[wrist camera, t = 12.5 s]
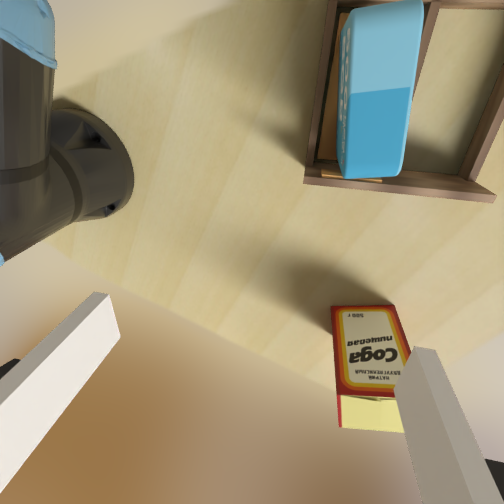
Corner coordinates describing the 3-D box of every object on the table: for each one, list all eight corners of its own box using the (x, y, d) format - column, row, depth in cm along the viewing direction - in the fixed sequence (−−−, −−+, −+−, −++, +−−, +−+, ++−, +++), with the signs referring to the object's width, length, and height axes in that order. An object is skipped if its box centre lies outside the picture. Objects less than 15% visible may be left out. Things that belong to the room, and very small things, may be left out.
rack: (305, 167, 36) (303, 183, 31) (329, -5, 28) (333, -29, 22) (461, 182, 34) (493, 203, 28) (540, -2, 25) (609, -28, 20)
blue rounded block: (339, 32, 29) (352, 4, 19) (387, 24, 28) (428, -10, 18) (335, 154, 35) (343, 183, 25) (375, 152, 34) (401, 181, 24)
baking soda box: (394, 305, 44) (429, 402, 31) (392, 335, 47) (423, 437, 34) (330, 306, 47) (336, 397, 33) (332, 335, 50) (339, 430, 36)
